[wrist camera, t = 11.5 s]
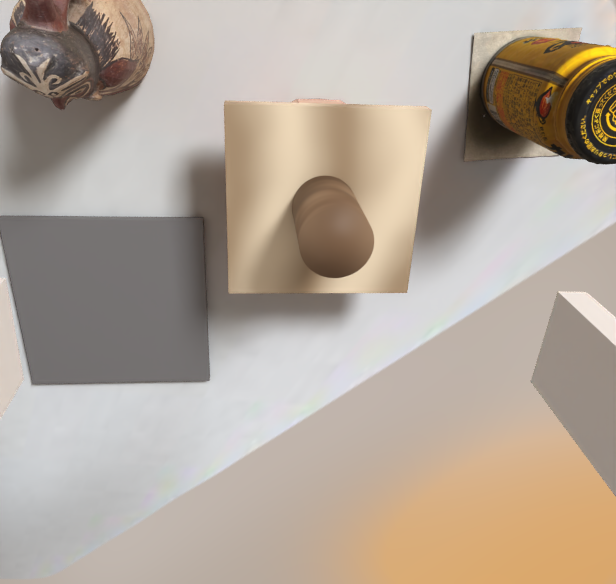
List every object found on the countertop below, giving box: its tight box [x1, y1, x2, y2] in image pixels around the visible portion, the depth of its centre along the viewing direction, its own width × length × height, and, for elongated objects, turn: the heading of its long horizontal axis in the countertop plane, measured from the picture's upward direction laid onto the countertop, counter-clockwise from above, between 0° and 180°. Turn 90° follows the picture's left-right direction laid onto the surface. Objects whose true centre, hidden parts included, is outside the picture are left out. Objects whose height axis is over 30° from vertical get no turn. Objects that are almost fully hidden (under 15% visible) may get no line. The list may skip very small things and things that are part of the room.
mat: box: [0, 216, 210, 384], centre depth 44 cm, size 14×14×1 cm
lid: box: [224, 101, 432, 294], centre depth 34 cm, size 12×12×7 cm
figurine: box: [0, 0, 154, 110], centre depth 30 cm, size 7×7×12 cm
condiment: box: [464, 28, 616, 164], centre depth 35 cm, size 7×8×12 cm
